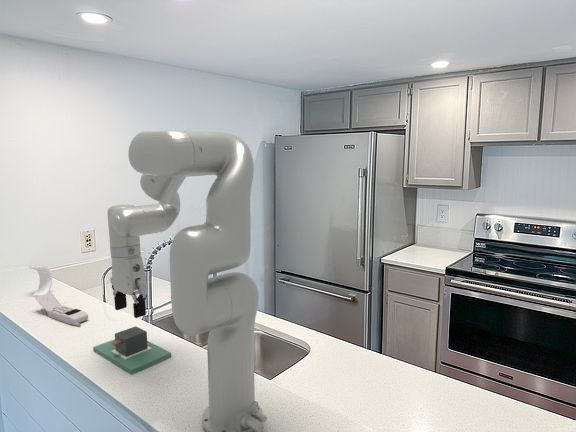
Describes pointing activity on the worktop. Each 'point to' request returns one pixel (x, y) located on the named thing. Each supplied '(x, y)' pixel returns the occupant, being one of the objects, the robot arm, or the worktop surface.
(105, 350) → the header board
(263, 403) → the worktop surface
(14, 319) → the worktop surface
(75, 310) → the mobile phone
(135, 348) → the block
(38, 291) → the headphone stand
